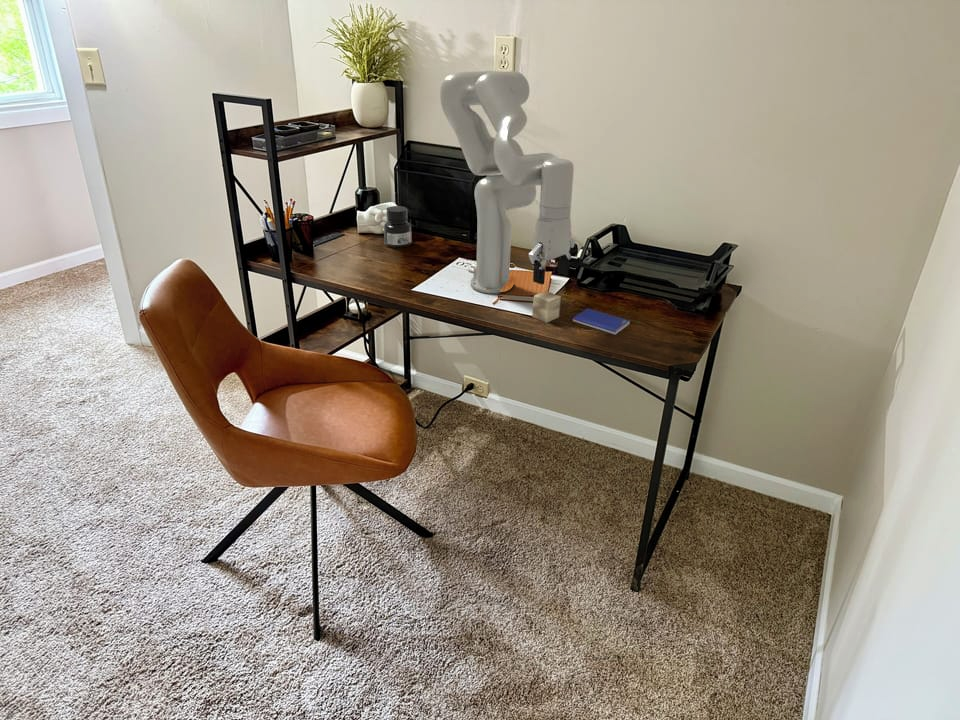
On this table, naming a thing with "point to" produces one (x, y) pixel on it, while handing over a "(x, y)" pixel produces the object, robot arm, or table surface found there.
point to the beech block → (546, 306)
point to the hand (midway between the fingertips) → (550, 278)
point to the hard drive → (601, 321)
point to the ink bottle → (397, 227)
